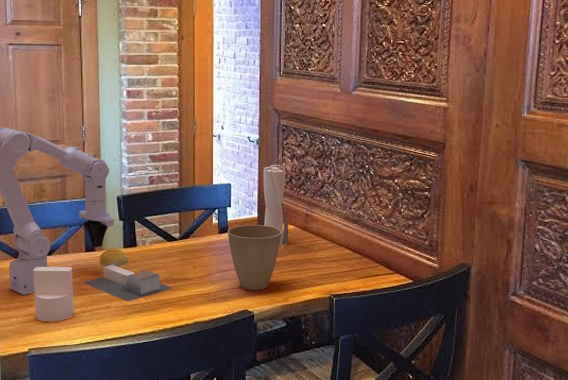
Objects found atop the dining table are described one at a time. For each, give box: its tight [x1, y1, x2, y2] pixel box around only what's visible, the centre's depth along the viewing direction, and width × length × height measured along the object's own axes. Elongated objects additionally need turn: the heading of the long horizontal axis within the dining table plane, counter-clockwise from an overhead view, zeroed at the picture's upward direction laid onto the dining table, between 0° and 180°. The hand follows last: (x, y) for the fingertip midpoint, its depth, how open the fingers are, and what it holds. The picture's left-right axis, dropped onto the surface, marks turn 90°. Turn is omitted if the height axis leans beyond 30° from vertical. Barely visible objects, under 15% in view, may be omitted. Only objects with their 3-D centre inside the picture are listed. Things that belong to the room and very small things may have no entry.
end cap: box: [122, 269, 161, 296], centre depth 204 cm, size 8×8×4 cm
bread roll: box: [99, 248, 129, 267], centre depth 228 cm, size 8×9×4 cm
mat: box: [82, 276, 173, 302], centre depth 208 cm, size 15×21×1 cm
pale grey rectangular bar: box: [103, 265, 137, 285], centre depth 211 cm, size 11×3×3 cm, turn 48°
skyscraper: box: [263, 164, 289, 248], centre depth 250 cm, size 8×8×28 cm
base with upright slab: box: [33, 266, 75, 323], centre depth 185 cm, size 9×9×12 cm
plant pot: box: [227, 224, 282, 291], centre depth 209 cm, size 15×15×16 cm
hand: (97, 246), depth 216 cm, fingers closed
